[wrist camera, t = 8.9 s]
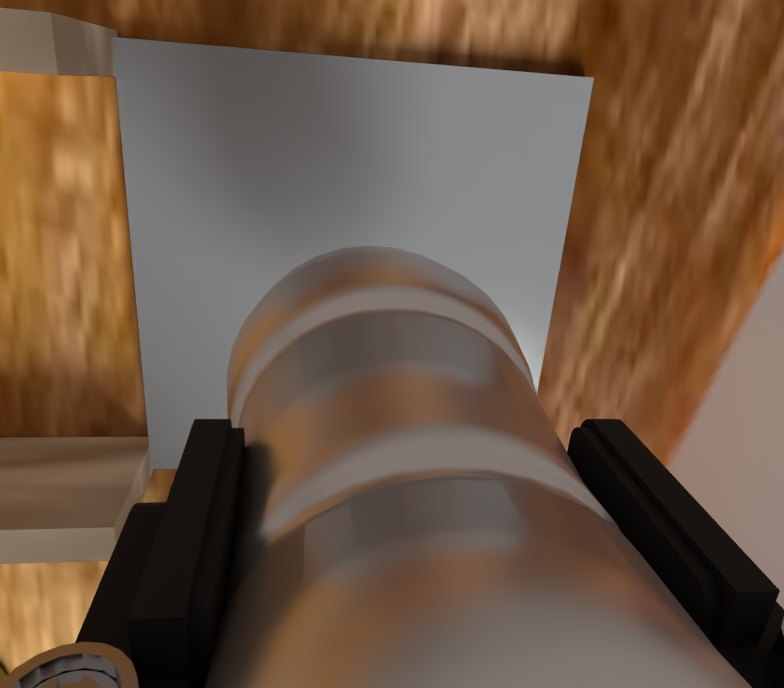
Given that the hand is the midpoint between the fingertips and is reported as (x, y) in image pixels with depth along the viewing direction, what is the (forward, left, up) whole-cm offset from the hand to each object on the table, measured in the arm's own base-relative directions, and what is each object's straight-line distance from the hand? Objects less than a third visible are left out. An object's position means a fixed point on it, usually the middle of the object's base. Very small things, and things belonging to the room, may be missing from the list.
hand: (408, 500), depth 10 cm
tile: (0, 0, -12) cm, 12 cm away
